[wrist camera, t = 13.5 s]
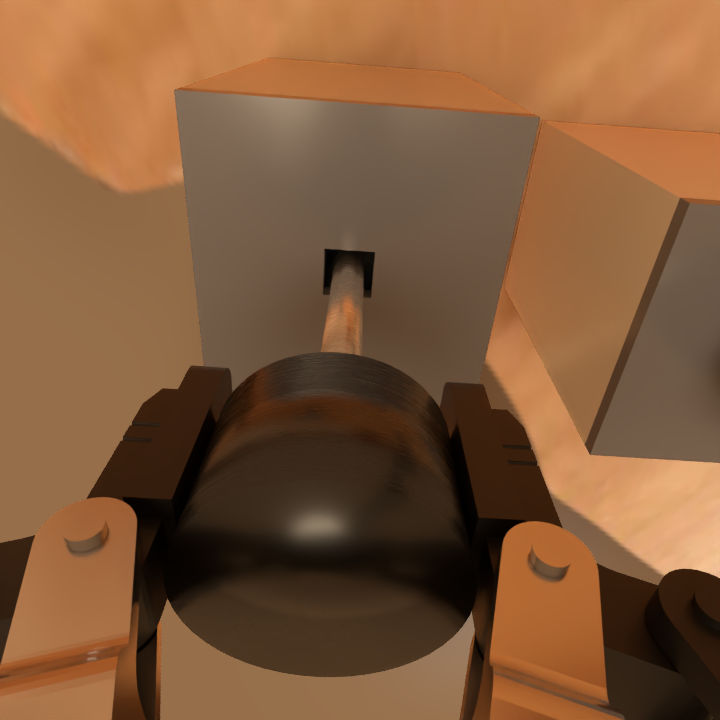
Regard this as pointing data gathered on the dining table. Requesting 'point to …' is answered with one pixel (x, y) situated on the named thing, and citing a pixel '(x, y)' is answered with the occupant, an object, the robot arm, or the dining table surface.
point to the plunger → (326, 511)
